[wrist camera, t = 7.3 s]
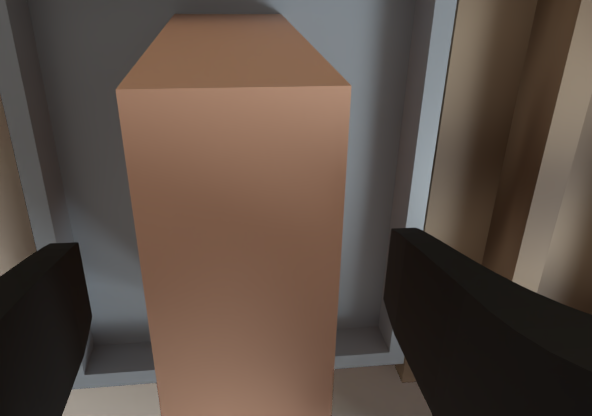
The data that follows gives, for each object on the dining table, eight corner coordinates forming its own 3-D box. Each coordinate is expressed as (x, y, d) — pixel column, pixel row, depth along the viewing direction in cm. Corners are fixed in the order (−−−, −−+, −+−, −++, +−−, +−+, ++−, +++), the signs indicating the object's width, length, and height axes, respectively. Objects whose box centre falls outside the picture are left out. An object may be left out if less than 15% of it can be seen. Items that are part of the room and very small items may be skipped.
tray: (388, 329, 21) (403, 363, 19) (82, 350, 20) (69, 389, 18) (436, -54, 15) (465, -55, 13) (-3, -66, 13) (-38, -69, 12)
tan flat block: (280, 299, 19) (323, 547, 11) (199, 305, 19) (182, 565, 11) (280, 14, 15) (351, 85, 7) (174, 13, 14) (115, 89, 6)
